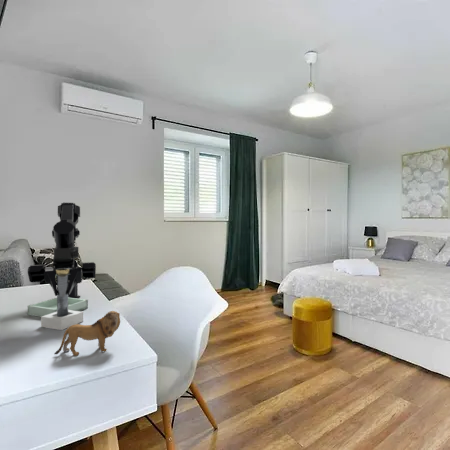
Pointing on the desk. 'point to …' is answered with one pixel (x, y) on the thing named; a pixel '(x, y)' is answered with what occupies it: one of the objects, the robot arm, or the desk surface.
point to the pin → (62, 292)
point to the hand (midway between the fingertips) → (62, 294)
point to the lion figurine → (91, 332)
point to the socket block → (61, 320)
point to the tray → (51, 306)
